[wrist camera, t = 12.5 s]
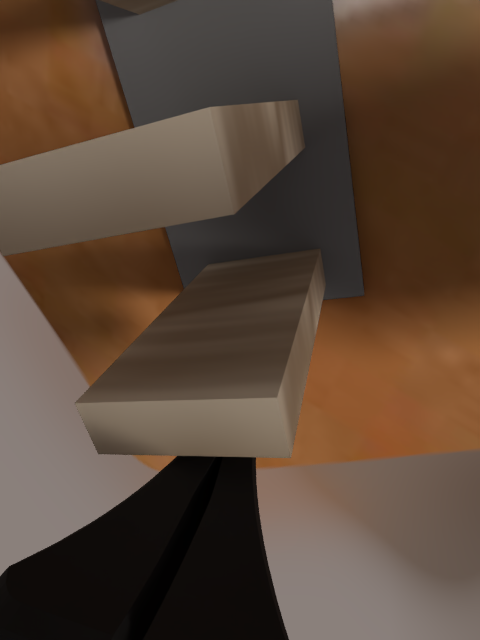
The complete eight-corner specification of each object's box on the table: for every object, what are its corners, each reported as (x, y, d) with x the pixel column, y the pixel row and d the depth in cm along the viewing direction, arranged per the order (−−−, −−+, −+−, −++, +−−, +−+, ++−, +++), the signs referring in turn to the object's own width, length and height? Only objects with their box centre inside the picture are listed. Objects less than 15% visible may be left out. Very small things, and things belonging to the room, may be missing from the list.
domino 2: (207, 264, 19) (74, 403, 10) (320, 248, 17) (277, 397, 8) (216, 297, 19) (98, 453, 11) (325, 284, 18) (290, 457, 9)
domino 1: (171, 132, 16) (-37, 175, 8) (297, 99, 15) (209, 106, 6) (183, 174, 17) (2, 256, 8) (305, 147, 15) (234, 214, 7)
